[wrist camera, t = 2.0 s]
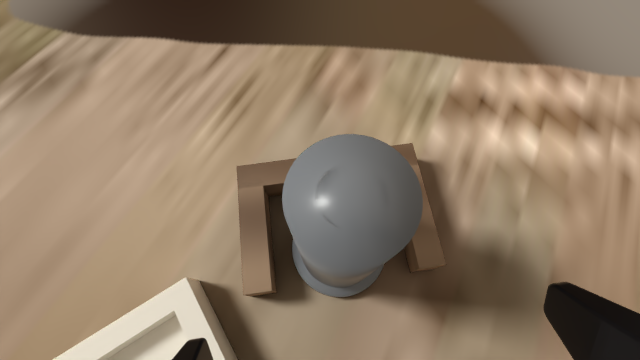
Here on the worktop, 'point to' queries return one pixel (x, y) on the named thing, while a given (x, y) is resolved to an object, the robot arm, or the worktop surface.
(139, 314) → the dish
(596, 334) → the robot arm
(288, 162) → the socket
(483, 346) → the worktop surface
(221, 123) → the worktop surface
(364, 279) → the grey rounded upright piece
